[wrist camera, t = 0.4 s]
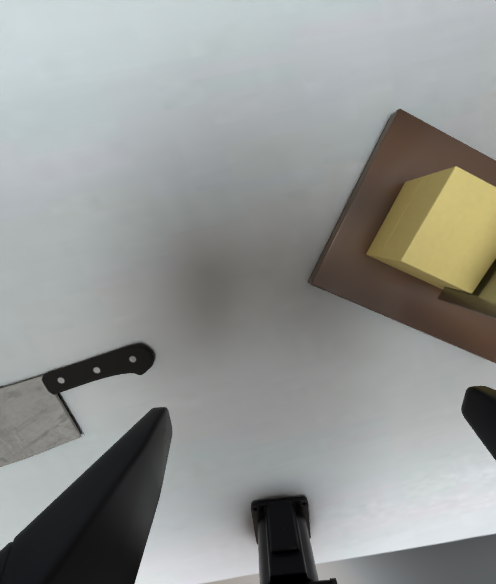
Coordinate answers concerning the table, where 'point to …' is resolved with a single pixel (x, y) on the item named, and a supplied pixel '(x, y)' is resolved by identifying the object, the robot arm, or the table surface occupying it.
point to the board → (369, 218)
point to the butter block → (441, 230)
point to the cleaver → (56, 402)
